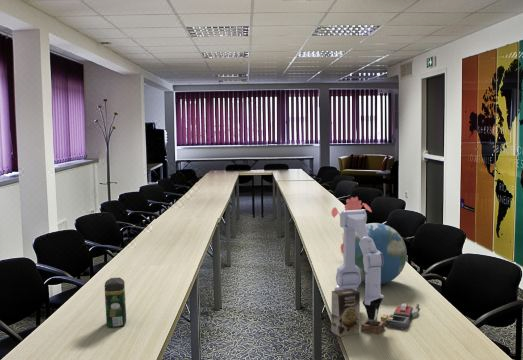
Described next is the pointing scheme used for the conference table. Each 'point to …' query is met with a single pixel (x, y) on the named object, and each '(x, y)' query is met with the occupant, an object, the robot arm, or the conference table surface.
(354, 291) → the coffee box
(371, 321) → the silver knobbed cylinder
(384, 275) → the globe
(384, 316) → the key
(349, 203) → the figurine
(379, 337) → the conference table surface
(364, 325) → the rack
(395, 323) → the block
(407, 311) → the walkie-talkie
